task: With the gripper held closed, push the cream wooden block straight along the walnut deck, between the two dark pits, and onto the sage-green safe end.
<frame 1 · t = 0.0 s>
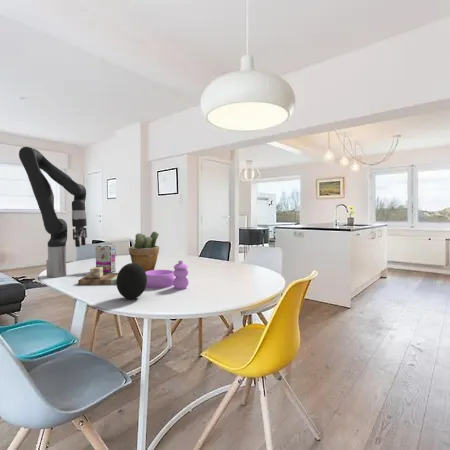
hand: (80, 246, 176), 17 cm above the table, tool pointing down, fingers open, 8 cm apart
container set: (166, 286, 151), on the table
candy bar box: (105, 271, 188), on the table
block: (96, 276, 162), point 2 cm above the table, touching deck
potted plant: (144, 272, 187), on the table
decorative egg: (132, 298, 128), on the table
deck: (108, 280, 162), on the table
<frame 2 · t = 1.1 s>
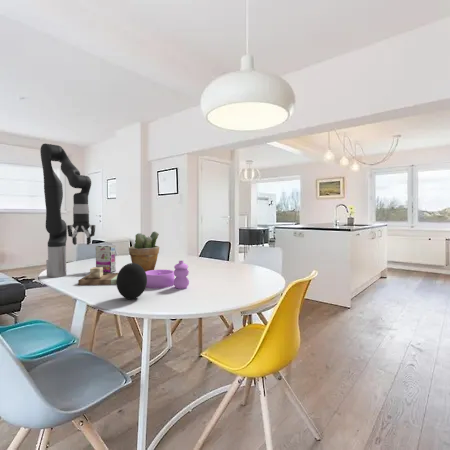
hand: (81, 244, 160), 20 cm above the table, tool pointing down, fingers open, 6 cm apart
nothing on the table moved.
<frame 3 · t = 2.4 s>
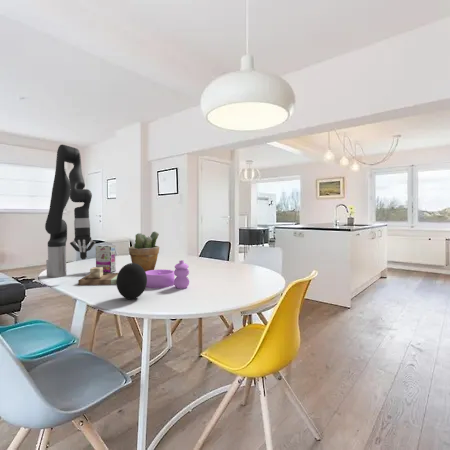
hand: (83, 259, 161), 12 cm above the table, tool pointing down, fingers closed
nothing on the table moved.
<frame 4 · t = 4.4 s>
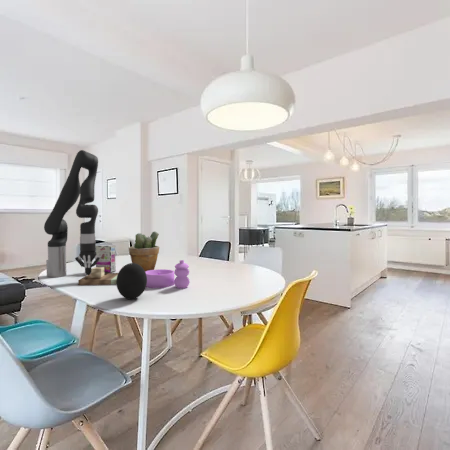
hand: (88, 274, 161), 4 cm above the table, tool pointing down, fingers closed
block: (98, 276, 162), point 2 cm above the table, touching deck, gripper
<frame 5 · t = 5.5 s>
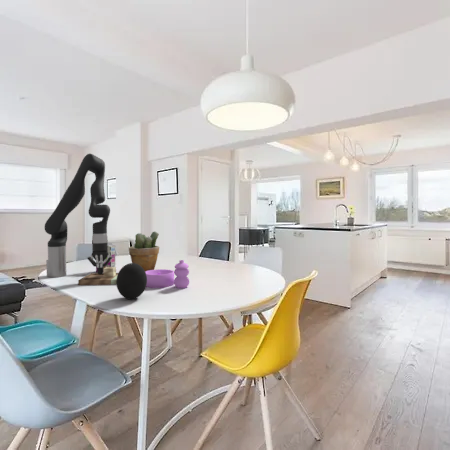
hand: (100, 274, 162), 4 cm above the table, tool pointing down, fingers closed
block: (109, 276, 162), point 3 cm above the table, touching gripper
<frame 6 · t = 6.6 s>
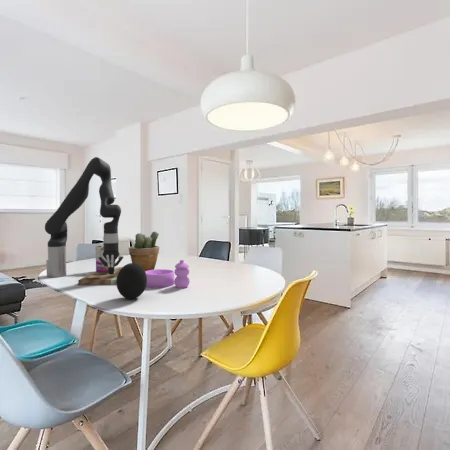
hand: (111, 274, 162), 4 cm above the table, tool pointing down, fingers closed
block: (120, 275, 163), point 2 cm above the table, touching deck, gripper
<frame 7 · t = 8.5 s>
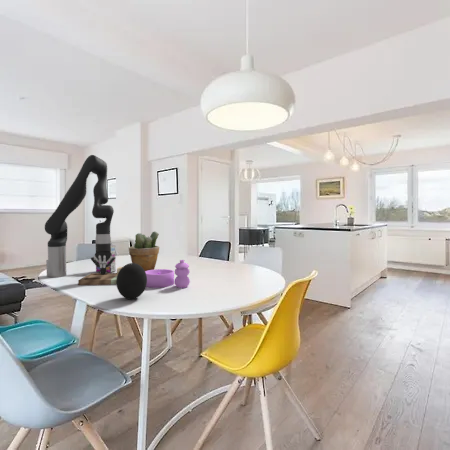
hand: (103, 274, 162), 3 cm above the table, tool pointing down, fingers closed
block: (123, 275, 163), point 2 cm above the table, touching deck
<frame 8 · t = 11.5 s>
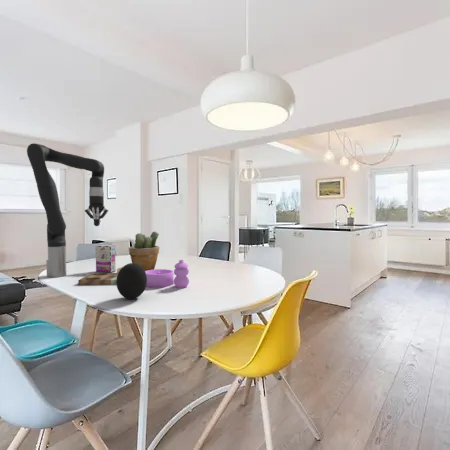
hand: (96, 226, 172), 29 cm above the table, tool pointing down, fingers closed
at the end: block inside the target area on the deck (0.5 cm from its centre), point 2.5 cm above the deck's base; block tilted 0°; block moved 13.7 cm from its start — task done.
